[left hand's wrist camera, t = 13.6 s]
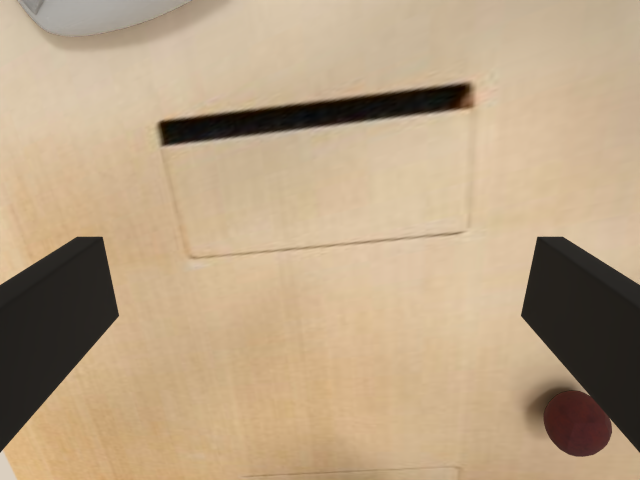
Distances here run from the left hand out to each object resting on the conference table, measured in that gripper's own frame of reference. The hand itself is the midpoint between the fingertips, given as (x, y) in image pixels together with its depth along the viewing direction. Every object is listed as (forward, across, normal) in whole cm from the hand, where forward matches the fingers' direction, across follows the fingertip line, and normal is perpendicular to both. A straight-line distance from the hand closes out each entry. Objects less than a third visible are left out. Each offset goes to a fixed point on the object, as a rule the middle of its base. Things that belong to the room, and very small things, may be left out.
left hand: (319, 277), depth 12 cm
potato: (+31, +32, -34) cm, 57 cm away
